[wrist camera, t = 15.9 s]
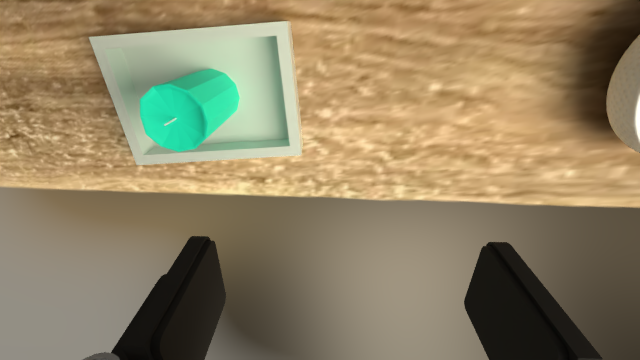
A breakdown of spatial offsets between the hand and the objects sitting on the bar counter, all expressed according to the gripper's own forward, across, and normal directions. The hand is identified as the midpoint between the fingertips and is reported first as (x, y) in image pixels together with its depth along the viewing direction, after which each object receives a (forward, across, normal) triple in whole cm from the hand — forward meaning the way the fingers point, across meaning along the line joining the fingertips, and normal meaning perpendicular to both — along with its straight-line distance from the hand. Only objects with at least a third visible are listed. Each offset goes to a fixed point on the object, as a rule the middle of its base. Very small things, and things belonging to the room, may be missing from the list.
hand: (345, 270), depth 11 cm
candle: (+28, +14, 0) cm, 31 cm away
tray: (+28, +14, 0) cm, 31 cm away
